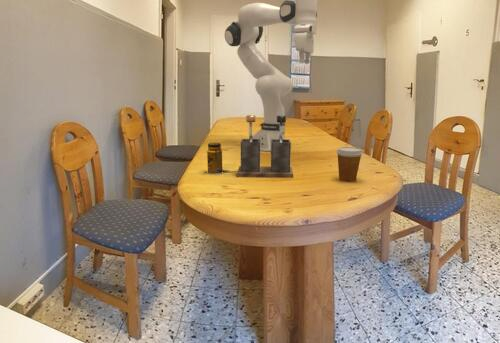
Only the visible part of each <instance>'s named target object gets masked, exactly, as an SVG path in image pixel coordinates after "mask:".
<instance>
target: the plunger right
mask: <svg viewBox="0 0 500 343" xmlns="http://www.w3.org/2000/svg"><path fill="white" fill-rule="evenodd" d="M277 122H279V123H280V131H279V142H282V133H283V123H285V124H286V122H287V115H284V116H282V115H280V116H277Z"/></svg>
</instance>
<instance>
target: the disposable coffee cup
mask: <svg viewBox="0 0 500 343" xmlns="http://www.w3.org/2000/svg"><path fill="white" fill-rule="evenodd" d="M336 154H337V163H338V164H337V165H338V166H337V167H338V179H339V181H341V182H349V183H350V182H351V183H353V182H355V181H357V177H358V171H359V166H360V162H361V158H362V155H363V152H362V149H361V148H359V147H354V146H353V147H352V146H340V147H338V148H337V151H336Z"/></svg>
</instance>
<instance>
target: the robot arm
mask: <svg viewBox="0 0 500 343" xmlns="http://www.w3.org/2000/svg"><path fill="white" fill-rule="evenodd" d="M237 14H238V18H237V21H236V22H235V21H232V23H231V24H230V25H228V26H227V27H226V29H225V31H224V39H225V42H226V43H227V45H228V46H230V47H238V48H237V51H236V53H237V57H238V58H239V59H240V62H241V63H242V64H243V65H244V67H245V68H246V70H248V72H249V73H250V75H251V76H252V77H253V78H255V80H256V82H255V91H256V92H257V94H258V95H259V97H260V99H261V102H262V106H263V122H262V123H259V127H260V129H259V130H258V131H256V132H255V133H254V134H252V139H260V152H271V139H279V131H280V123H279V122H277V116H280V115H282V116H286V115H285V112H286V110H285V106H284V105H283V104H282V101H281V97H283V96H287V95H288V94H290V93H291V92H292V91H293V88H294V83H293V80H292V79H291V78H290V77H289V76H287V75H286V74H284V73H283V72H282V71H280V70H279V69H278V68H277V67H275V66H274V65H272V64H271V63H270V62H269V61H268V59H267V58H266V57H265V56H264V55H263V53H262V52H261V51H260V49H258V48H257V46H256V45H257V44H258V43H259V42H261V38H262V36H263V32H264V27H268V26H271V25H277V24H282V23H283V24H284V23H285V24H289V25H295V26H294V27H293V32H294V45H295V51H297V52H298V57H299V64H305V65H308V64H310V58H311V54H314V51H315V50H314V49H315V48H314V47H315V45H314V43H315V42H314V41H315V40H314V35H316V34H317V21H318V20H317V17H318V0H284V1H283V2H282V3H281V5H280V7H279V6H277V5H276V6H275V5H272V4H268V3H265V2H253V3H249V4H245V5H244V6H242V7H240V8H239V10H238V12H237ZM285 133H286V122H285V123H283V133H282V139H285Z"/></svg>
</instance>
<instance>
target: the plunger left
mask: <svg viewBox="0 0 500 343" xmlns="http://www.w3.org/2000/svg"><path fill="white" fill-rule="evenodd" d="M245 117H246V118H245V121H246V123H248V124H249V125H248V126H249V128H248V129H249V131H248V139H249V142H252V136H253V123H256V115H253V114H252V115H251V114H249V115H248V114H246V116H245Z"/></svg>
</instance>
